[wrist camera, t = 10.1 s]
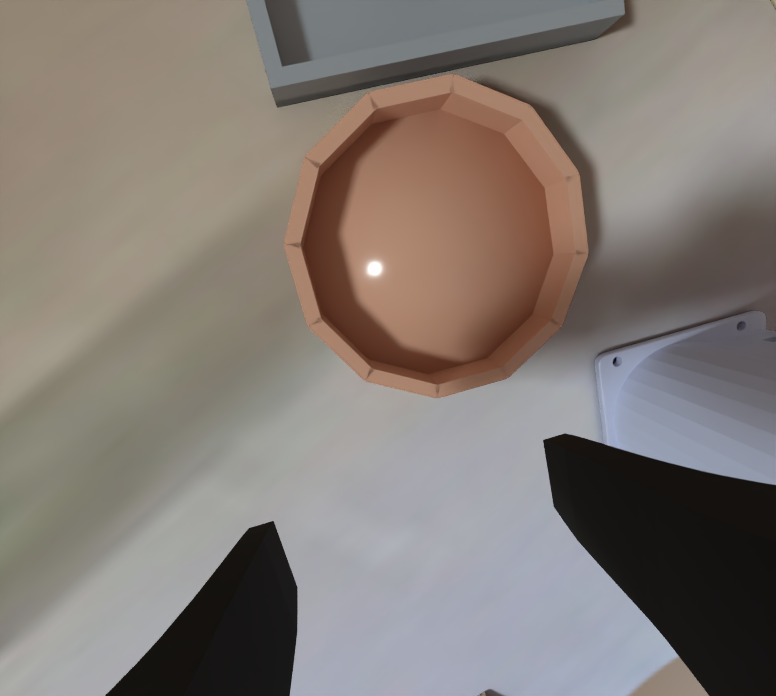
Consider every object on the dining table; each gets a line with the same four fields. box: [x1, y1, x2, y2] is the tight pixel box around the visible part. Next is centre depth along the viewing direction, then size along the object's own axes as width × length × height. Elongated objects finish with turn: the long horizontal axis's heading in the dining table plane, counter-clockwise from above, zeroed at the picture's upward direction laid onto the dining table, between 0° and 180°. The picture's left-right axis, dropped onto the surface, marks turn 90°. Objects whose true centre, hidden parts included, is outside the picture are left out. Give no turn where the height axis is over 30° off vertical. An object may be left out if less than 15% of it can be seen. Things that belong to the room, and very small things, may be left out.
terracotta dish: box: [284, 74, 589, 398], centre depth 17 cm, size 12×12×2 cm
